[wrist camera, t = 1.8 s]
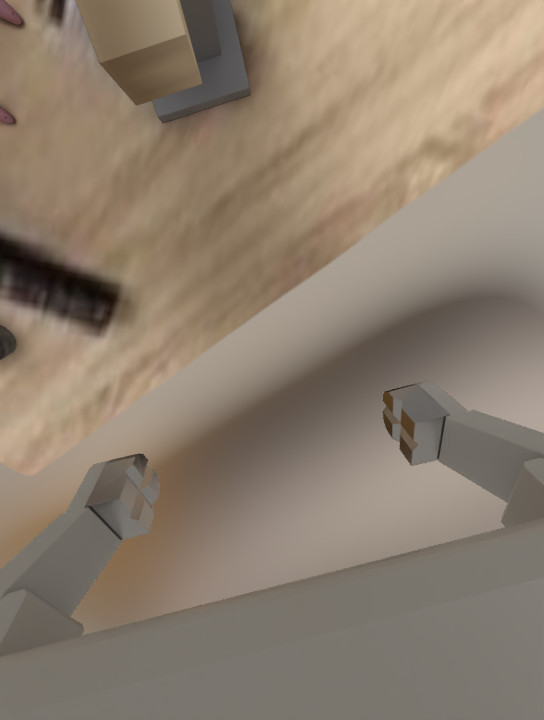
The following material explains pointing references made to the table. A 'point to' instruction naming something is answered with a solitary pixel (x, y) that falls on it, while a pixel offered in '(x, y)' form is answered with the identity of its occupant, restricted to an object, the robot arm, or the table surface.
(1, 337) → the beverage cup
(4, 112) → the video game controller
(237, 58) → the shelf stand
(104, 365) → the table surface
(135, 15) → the tan brown bar
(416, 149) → the table surface
